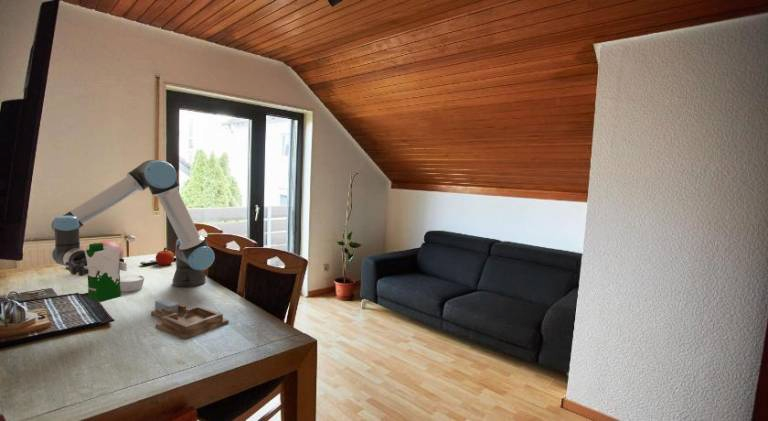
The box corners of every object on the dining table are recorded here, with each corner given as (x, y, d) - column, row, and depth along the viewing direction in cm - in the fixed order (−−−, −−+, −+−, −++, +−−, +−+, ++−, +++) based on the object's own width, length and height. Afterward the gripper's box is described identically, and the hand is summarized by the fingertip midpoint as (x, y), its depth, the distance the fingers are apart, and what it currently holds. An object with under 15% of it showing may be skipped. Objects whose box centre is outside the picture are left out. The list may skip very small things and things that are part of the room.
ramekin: (147, 289, 184) (147, 278, 183) (119, 294, 175) (119, 283, 175) (140, 284, 191) (140, 273, 191) (113, 288, 183) (113, 277, 182)
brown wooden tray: (180, 305, 165) (180, 296, 165) (228, 322, 150) (228, 312, 150) (136, 318, 150) (136, 308, 149) (184, 339, 134) (184, 327, 134)
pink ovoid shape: (95, 275, 201) (94, 246, 199) (86, 267, 214) (85, 240, 212) (129, 270, 212) (129, 243, 211) (119, 263, 226) (118, 237, 224)
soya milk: (83, 299, 136) (81, 243, 134) (111, 292, 145) (108, 239, 142) (98, 303, 133) (96, 246, 130) (125, 296, 141) (123, 242, 139)
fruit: (151, 265, 224) (151, 248, 222) (163, 262, 233) (163, 245, 232) (166, 267, 222) (166, 250, 221) (177, 263, 231) (177, 247, 230)
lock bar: (164, 306, 159) (163, 298, 159) (178, 312, 154) (178, 303, 154) (155, 309, 156) (155, 301, 155) (169, 315, 151) (169, 306, 151)
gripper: (112, 263, 156) (142, 273, 145) (44, 275, 137) (73, 288, 126) (111, 245, 155) (142, 254, 144) (43, 255, 136) (72, 265, 125)
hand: (110, 270), depth 135 cm, fingers closed on soya milk, 9 cm apart
